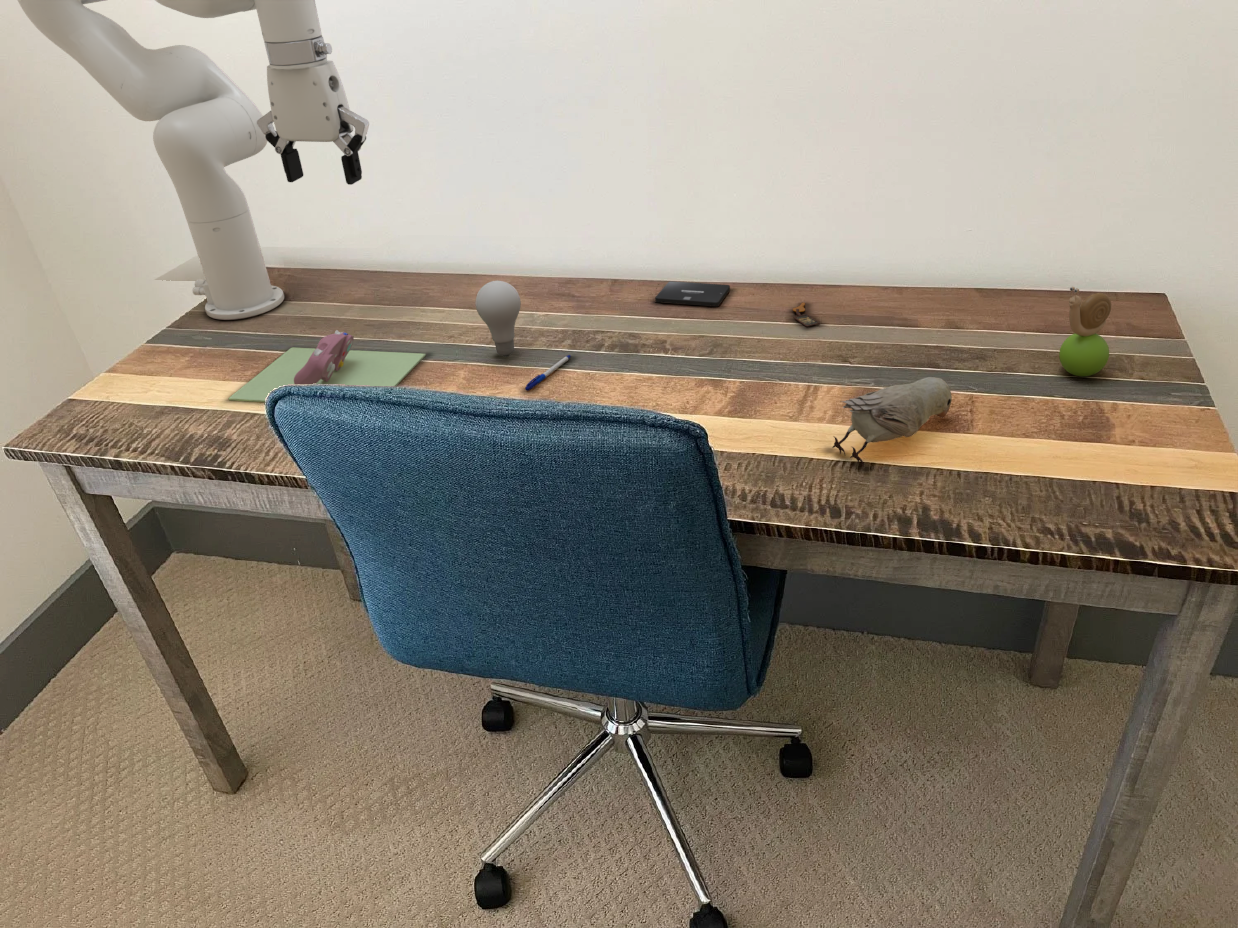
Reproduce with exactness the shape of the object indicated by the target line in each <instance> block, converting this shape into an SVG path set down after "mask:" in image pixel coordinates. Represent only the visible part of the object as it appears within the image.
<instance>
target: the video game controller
mask: <svg viewBox="0 0 1238 928" xmlns="http://www.w3.org/2000/svg"><path fill="white" fill-rule="evenodd" d="M353 344H354V335H352V334H349V333H347V332H345V331H339V330H338V329H336V330H335V331H334V333H331V334H327V335H325V336H323V337H322V338H321V339H320V340H319V342H318V344H317V346H316V348H315V351H314V352H313V353H312V355H311V356H310V358H309V360H308V362H307V363H306V364H305V366H304V367H303V368H302V369H301V370H300V371H299V372H298V373H297V374H296V375H295V377H294V384H313V383H317V382H318V381H319V380H320V379H322V380H324V381H326V382H327V381H329V379H330V378H331V376H332V374H333V371H334V370H335V371H338V370H339V369H340V368H341V367H342V366H343V364H344V363H343V362H344V359H345V357H346V356H347V354H348V352H349V351H350V350H352V346H353Z"/></svg>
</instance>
